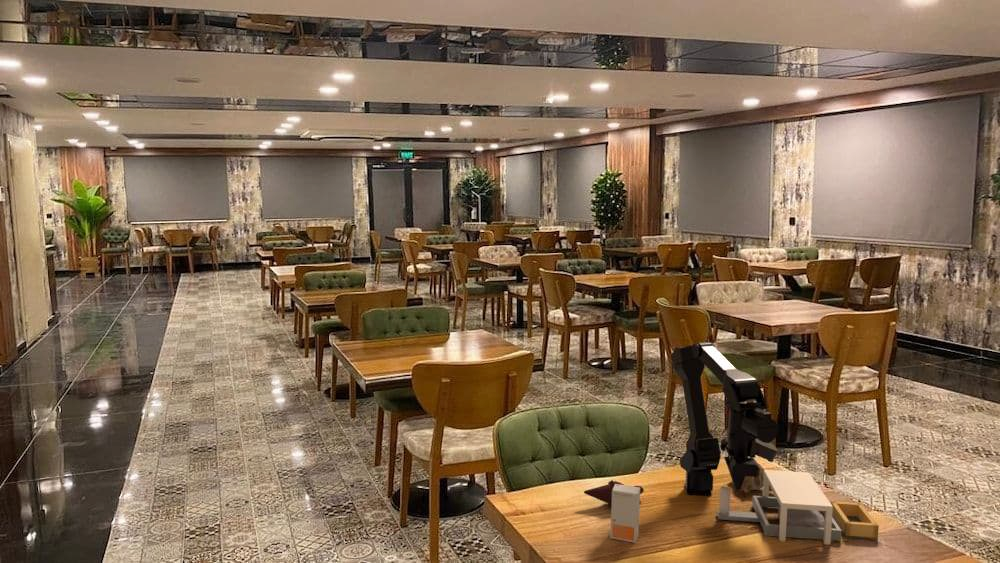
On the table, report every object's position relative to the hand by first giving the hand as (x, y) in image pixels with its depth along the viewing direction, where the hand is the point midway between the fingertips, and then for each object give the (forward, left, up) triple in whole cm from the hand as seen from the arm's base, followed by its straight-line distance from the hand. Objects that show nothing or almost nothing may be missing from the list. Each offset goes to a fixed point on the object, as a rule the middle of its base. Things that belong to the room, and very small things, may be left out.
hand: (737, 489), depth 174 cm
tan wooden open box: (+27, 0, -8) cm, 28 cm away
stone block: (+15, 0, -8) cm, 17 cm away
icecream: (-30, +2, -8) cm, 31 cm away
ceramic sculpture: (+7, +20, -8) cm, 23 cm away
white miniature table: (+14, 0, -8) cm, 16 cm away
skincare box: (-27, -14, -8) cm, 32 cm away
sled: (+9, 0, -7) cm, 11 cm away
